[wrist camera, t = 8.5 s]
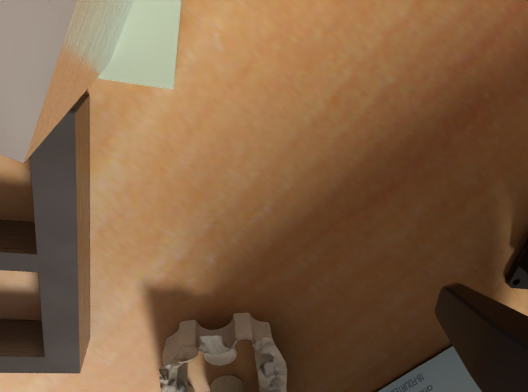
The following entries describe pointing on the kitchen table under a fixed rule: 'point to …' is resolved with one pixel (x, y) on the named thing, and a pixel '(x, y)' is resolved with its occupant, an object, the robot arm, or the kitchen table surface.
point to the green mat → (147, 45)
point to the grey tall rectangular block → (50, 63)
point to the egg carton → (222, 355)
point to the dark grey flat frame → (53, 253)
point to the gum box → (436, 376)
